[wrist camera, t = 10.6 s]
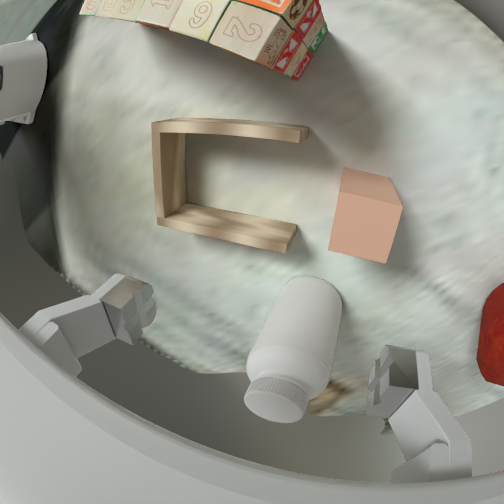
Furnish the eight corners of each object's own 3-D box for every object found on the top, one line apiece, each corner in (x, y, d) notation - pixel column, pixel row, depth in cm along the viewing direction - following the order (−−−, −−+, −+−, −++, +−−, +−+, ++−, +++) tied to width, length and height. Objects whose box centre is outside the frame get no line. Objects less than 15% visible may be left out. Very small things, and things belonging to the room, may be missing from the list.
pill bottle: (265, 297, 35) (213, 394, 23) (310, 261, 30) (269, 371, 18) (309, 335, 35) (276, 435, 23) (356, 306, 31) (341, 420, 19)
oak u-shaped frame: (179, 209, 33) (157, 225, 29) (177, 118, 27) (151, 122, 23) (295, 233, 29) (285, 254, 25) (308, 127, 23) (300, 130, 20)
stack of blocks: (137, 22, 22) (53, 13, 12) (158, -20, 18) (79, -43, 8) (299, 82, 22) (254, 62, 12) (331, 30, 18) (310, -27, 8)
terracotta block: (336, 211, 26) (327, 250, 20) (343, 167, 24) (339, 191, 18) (379, 221, 25) (385, 263, 19) (389, 178, 23) (402, 206, 16)
